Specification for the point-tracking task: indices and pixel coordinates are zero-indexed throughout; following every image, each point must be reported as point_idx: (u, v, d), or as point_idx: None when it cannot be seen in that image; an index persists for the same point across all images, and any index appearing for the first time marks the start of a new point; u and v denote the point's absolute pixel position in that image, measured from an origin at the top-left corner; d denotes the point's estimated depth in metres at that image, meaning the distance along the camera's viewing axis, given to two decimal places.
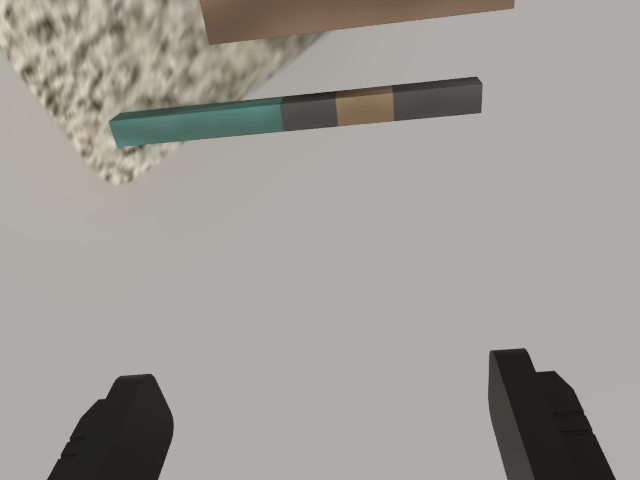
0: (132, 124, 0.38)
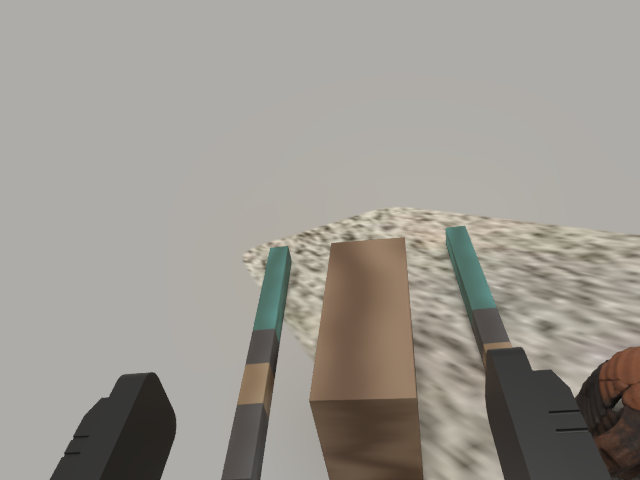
0: (282, 255, 0.54)
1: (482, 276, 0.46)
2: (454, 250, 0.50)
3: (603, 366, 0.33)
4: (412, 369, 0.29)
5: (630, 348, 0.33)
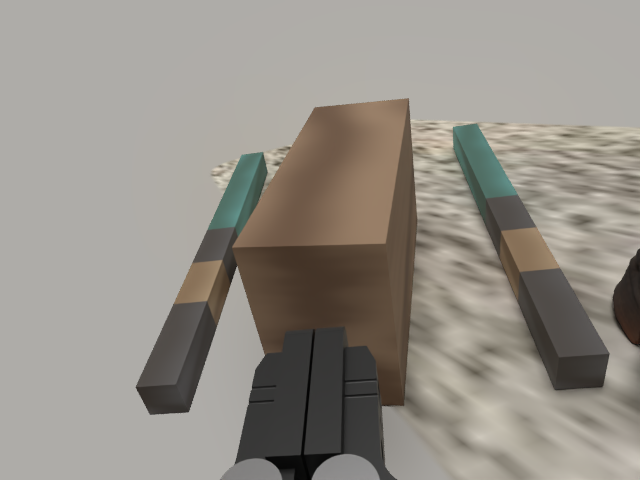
0: (255, 160, 0.45)
1: (498, 167, 0.36)
2: (463, 145, 0.40)
3: None
4: (387, 214, 0.20)
5: None
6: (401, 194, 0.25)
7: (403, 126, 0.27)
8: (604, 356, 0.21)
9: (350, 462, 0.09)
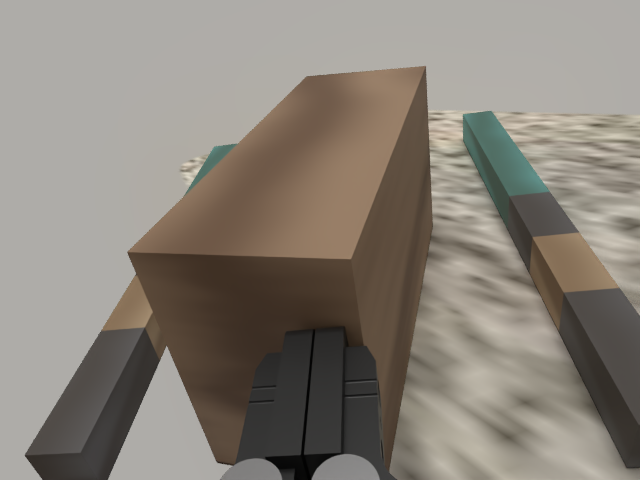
0: None
1: (522, 158, 0.29)
2: (476, 134, 0.33)
3: None
4: (364, 213, 0.13)
5: None
6: (400, 187, 0.18)
7: (412, 97, 0.20)
8: None
9: (350, 462, 0.09)
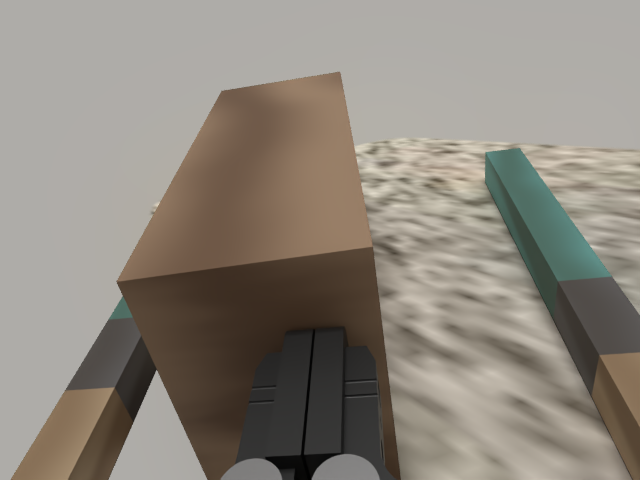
0: None
1: (567, 221, 0.23)
2: (505, 182, 0.27)
3: None
4: (360, 204, 0.13)
5: None
6: None
7: (344, 99, 0.21)
8: None
9: (350, 462, 0.09)
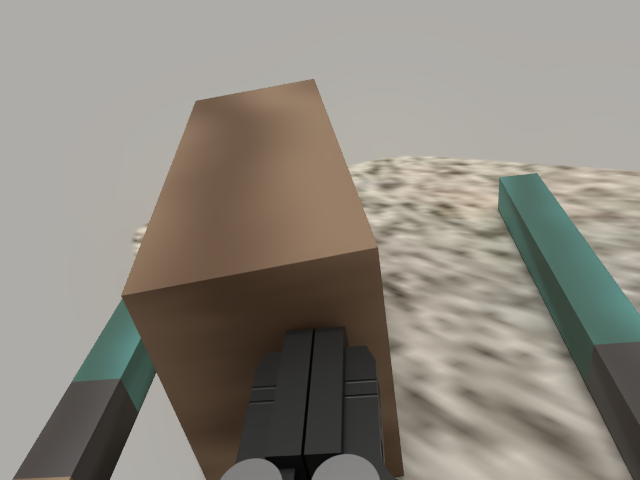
0: None
1: (598, 265, 0.20)
2: (523, 215, 0.24)
3: None
4: (358, 207, 0.13)
5: None
6: None
7: (322, 105, 0.21)
8: None
9: (350, 462, 0.09)
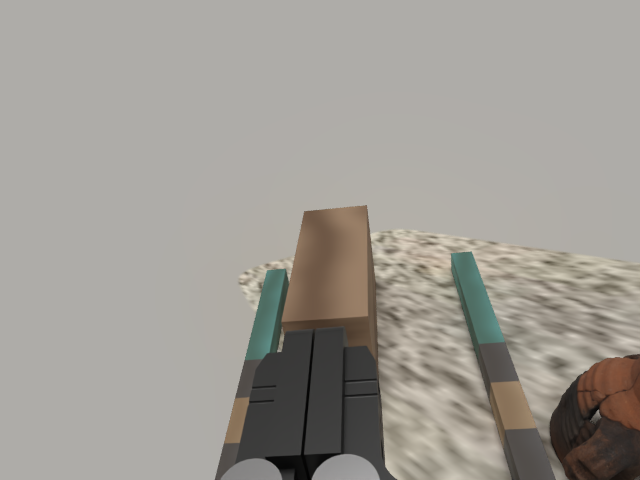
0: (279, 278, 0.51)
1: (489, 307, 0.43)
2: (460, 278, 0.47)
3: (581, 377, 0.32)
4: (366, 297, 0.36)
5: (608, 359, 0.33)
6: (369, 277, 0.41)
7: (366, 230, 0.44)
8: None
9: (350, 462, 0.09)
